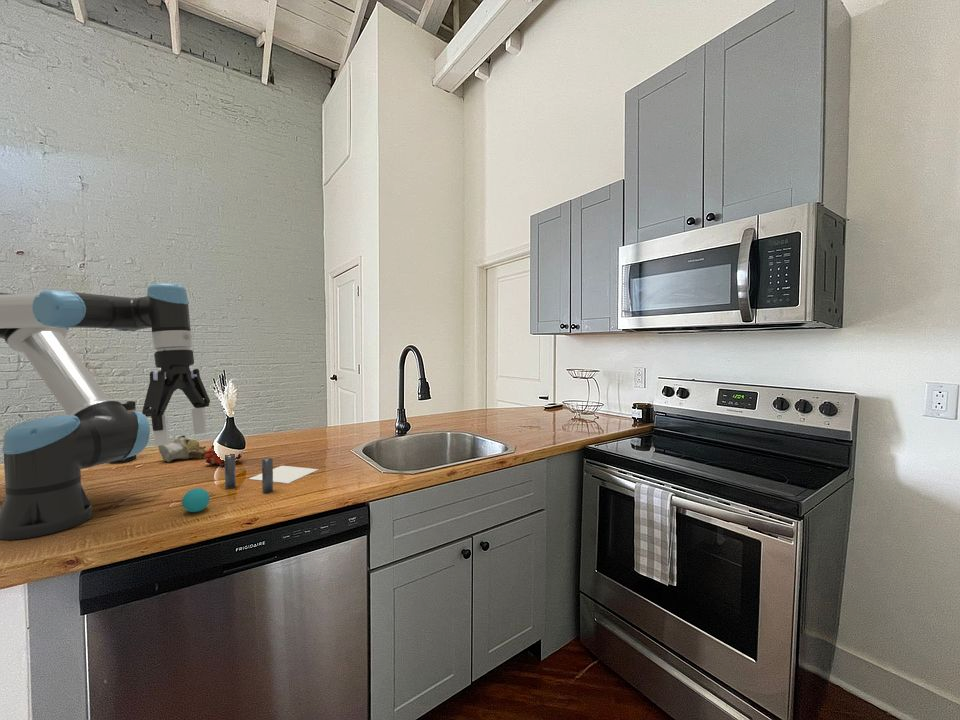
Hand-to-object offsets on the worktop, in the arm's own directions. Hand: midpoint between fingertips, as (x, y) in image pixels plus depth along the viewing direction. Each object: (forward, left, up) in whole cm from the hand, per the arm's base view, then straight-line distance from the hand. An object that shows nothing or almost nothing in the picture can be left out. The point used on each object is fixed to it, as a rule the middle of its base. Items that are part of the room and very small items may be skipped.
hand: (182, 438), depth 101 cm
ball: (+1, -2, -15) cm, 15 cm away
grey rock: (+36, +43, -18) cm, 59 cm away
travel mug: (+28, +61, -18) cm, 69 cm away
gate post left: (+17, +4, -18) cm, 25 cm away
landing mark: (+31, -2, -18) cm, 36 cm away
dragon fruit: (+34, +25, -18) cm, 46 cm away
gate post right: (+17, -9, -18) cm, 26 cm away
